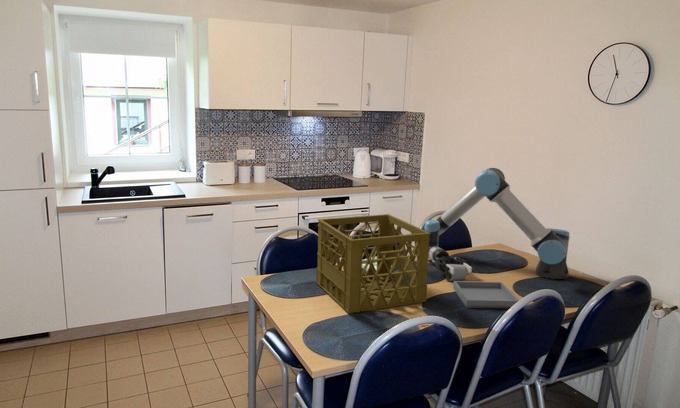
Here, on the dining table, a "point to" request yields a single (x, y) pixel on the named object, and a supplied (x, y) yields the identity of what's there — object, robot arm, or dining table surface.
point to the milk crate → (386, 257)
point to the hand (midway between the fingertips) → (462, 270)
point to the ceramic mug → (457, 273)
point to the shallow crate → (484, 294)
